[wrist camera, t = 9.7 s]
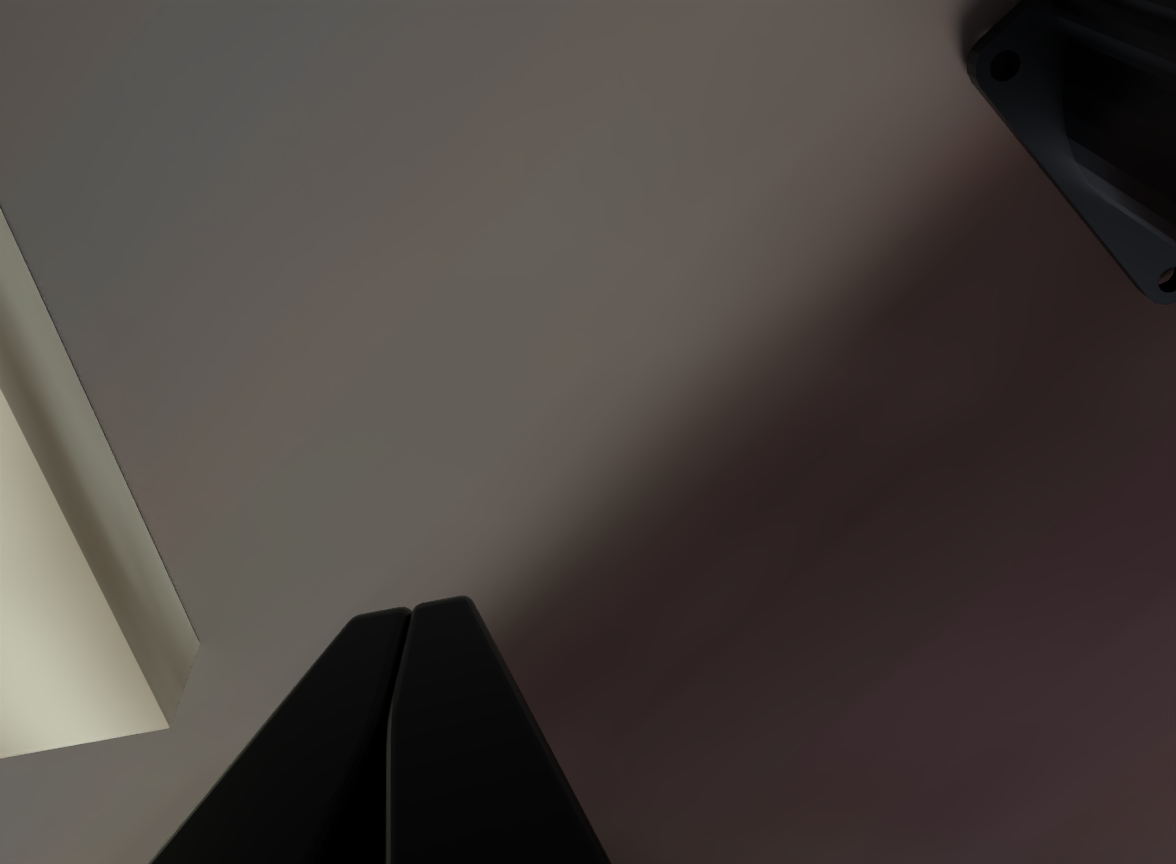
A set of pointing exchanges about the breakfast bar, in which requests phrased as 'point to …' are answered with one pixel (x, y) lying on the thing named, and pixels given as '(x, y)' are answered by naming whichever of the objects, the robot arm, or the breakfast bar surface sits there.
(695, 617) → the breakfast bar surface
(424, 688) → the robot arm
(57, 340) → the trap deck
